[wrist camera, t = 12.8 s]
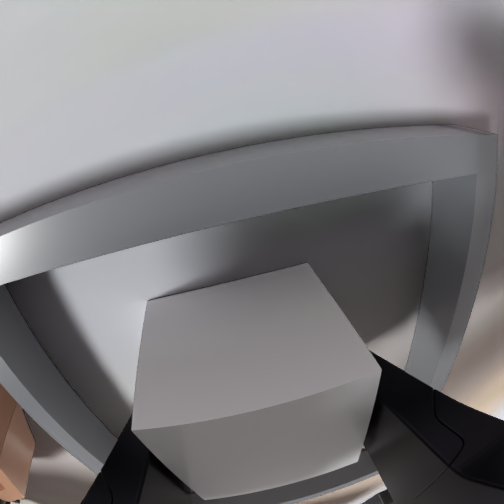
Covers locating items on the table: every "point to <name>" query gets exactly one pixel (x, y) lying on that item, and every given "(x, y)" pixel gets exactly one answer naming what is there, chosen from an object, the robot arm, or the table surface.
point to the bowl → (14, 448)
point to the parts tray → (244, 207)
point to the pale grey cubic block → (253, 384)
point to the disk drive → (380, 498)
